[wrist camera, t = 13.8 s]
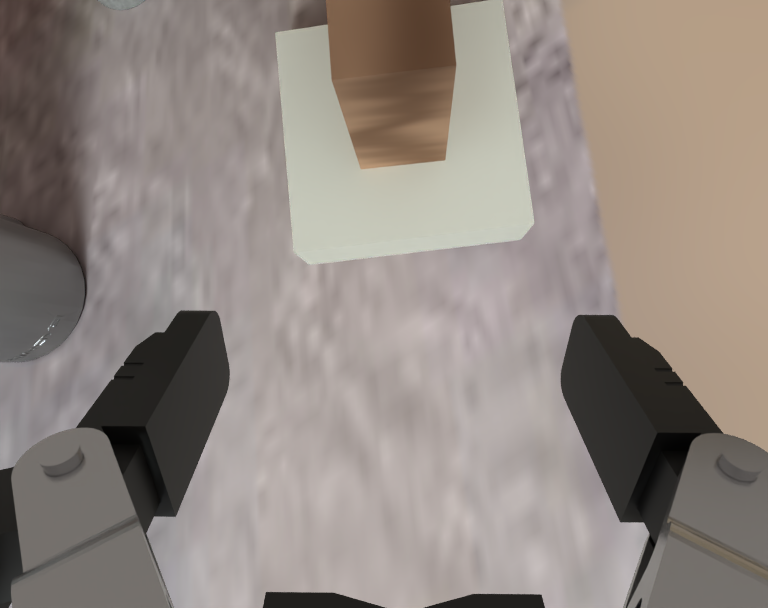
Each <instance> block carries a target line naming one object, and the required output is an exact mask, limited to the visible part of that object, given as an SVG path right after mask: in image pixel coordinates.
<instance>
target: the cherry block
mask: <svg viewBox="0 0 768 608" xmlns="http://www.w3.org/2000/svg"><path fill="white" fill-rule="evenodd" d="M326 9H327V23H328V37H329V51H330V65H331V79H332V83H333V86H334V89H335V92H336V95H337V98H338V101H339V104H340V107H341V110H342V113H343V116H344V120H345V123H346V126H347V129H348V132H349V135H350V138H351V141H352V144H353V147H354V150H355V153H356V156H357V159H358V162H359V165H360V168H361V169H369V168H379V167H388V166H398V165H407V164H416V163H426V162H435V161H444V160H445V159H446V150H447V142H448V133H449V125H450V116H451V108H452V99H453V90H454V82H455V73H456V56H455V46H454V36H453V26H452V17H451V7H450V0H326Z"/></svg>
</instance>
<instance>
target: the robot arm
mask: <svg viewBox="0 0 768 608" xmlns="http://www.w3.org/2000/svg"><path fill="white" fill-rule="evenodd" d="M84 297H85V284H84V277H83V273H82V269H81V266H80V264H79V263H78V261H77V259H76V257H75V255H74V254H73V253H72V251H71V250H70V249H69V248H68V247H67V246H66V245H65V244H64V243H62V242H61V241H60V240H59V239H57V238H55V237H53V236H51V235H48V234H46V233H44V232H41V231H38V230H34V229H31V228H28V227H25V226H23V224H22V223H21V222H20V221H19V220H16V219H13V218H10V217H8V216H5V215H2V214H0V362H25V361H30V360H34V359H38V358H40V357H42V356H44V355H46V354H48V353H50V352H51V351H53V350H54V349H55V348H57V347H58V346H60V345H61V344H62V343H63V341H64V340H65V339H66V338H67V337H68V336H69V335H70V334H71V332H72V330H73V329H74V327H75V325H76V324H77V322H78V320H79V317H80V314H81V312H82V309H83V303H84ZM229 376H230V371H229V363H228V358H227V353H226V348H225V343H224V338H223V333H222V327H221V322H220V318H219V315H218V313H217V312H216V311H180V312H178V313H177V315H176V316H175V318H174V319H173V321H172V322H171V324H170V325H169V327H168V328H167V330H166V331H165V333H161V332H156V333H154V334H153V335H151V336H150V337H148V338H147V339H146V340H144V341H143V342H141V343H140V344H139V345H137V346H136V347H135V348H134V350H133V351H132V352H131V354H130V355H129V356H128V358H127V359H126V360H125V362H124V366H121V367H120V369H119V370H118V371H117V373H116V374H115V375H114V380H111V381H110V382H109V384H108V385H107V386H106V388H105V389H104V390H103V392H102V393H101V395H100V396H99V397H98V399H97V400H96V401H95V403H94V404H93V405H92V407H91V408H90V409H89V411H88V412H87V414H86V415H85V416H84V418H83V419H82V420H81V422H80V423H79V424H78V426H77V427H76V428H74V429H69V430H65V431H62V432H59V433H56V434H54V435H51V436H49V437H47V438H45V439H43V440H42V441H40V442H38V443H37V444H35V445H34V446H32V447H31V448H30V449H29V450H28V451H26V452H25V453H24V454H23V455H22V456H21V458H20V459H19V460H18V462H17V463H16V465H15V467H12V468H8V469H3V470H0V608H9V606H10V604H11V602H12V608H174V606H173V604H172V601H171V598H170V596H169V593H168V590H167V588H166V585H165V582H164V579H163V577H162V574H161V571H160V569H159V566H158V563H157V561H156V558H155V555H154V553H153V550H152V547H151V544H150V542H149V539H148V537H147V534H146V532H147V530H148V528H149V526H150V524H151V522H152V519H153V517H154V516H166V517H176V515H177V512H178V510H179V508H180V505H181V503H182V500H183V498H184V495H185V493H186V491H187V488H188V486H189V483H190V481H191V478H192V476H193V474H194V471H195V469H196V466H197V464H198V461H199V459H200V457H201V454H202V452H203V449H204V447H205V444H206V442H207V440H208V437H209V435H210V432H211V430H212V427H213V425H214V423H215V420H216V418H217V415H218V413H219V410H220V408H221V406H222V403H223V401H224V398H225V396H226V393H227V390H228V386H229ZM561 388H562V393H563V396H564V399H565V401H566V403H567V405H568V408H569V410H570V412H571V414H572V416H573V419H574V421H575V423H576V425H577V427H578V430H579V432H580V434H581V436H582V438H583V441H584V443H585V445H586V447H587V450H588V452H589V454H590V456H591V458H592V461H593V463H594V465H595V467H596V469H597V472H598V474H599V476H600V478H601V480H602V483H603V485H604V487H605V489H606V492H607V494H608V496H609V498H610V500H611V503H612V505H613V507H614V509H615V511H616V514H617V516H618V518H619V520H620V522H644V523H645V525H646V527H647V529H648V531H649V535H648V537H647V539H646V541H645V544H644V547H643V550H642V553H641V555H640V558H639V561H638V564H637V567H636V570H635V573H634V576H633V579H632V582H631V585H630V588H629V591H628V594H627V597H626V600H625V603H624V606H623V608H768V453H767V452H766V451H764V450H763V449H761V448H760V447H758V446H756V445H754V444H753V443H750V442H748V441H746V440H744V439H741V438H738V437H735V436H731V435H727V434H723V432H722V431H721V430H720V429H719V428H718V426H717V425H716V424H715V422H714V421H713V420H712V418H711V417H710V416H709V415H708V413H707V412H706V411H705V410H704V409H703V407H702V406H701V404H700V403H699V402H698V401H697V399H696V398H695V397H694V396H693V394H692V393H691V392H690V390H689V389H688V388H687V387H686V386H683V382H682V380H681V379H680V378H679V376H678V375H677V374H676V373H675V372H672V368H671V366H670V365H669V364H668V362H667V361H666V360H665V359H664V358H663V356H662V355H661V354H660V352H659V351H657V350H656V349H654V348H653V347H651V346H650V345H649V344H647V343H646V342H644V341H643V340H641V339H640V338H631V337H630V335H629V333H628V332H627V331H626V329H625V328H624V327H623V325H622V324H621V323H620V321H619V320H618V319H617V318H616V317H615V316H614V315H578V316H577V317H576V318H575V320H574V322H573V325H572V329H571V333H570V337H569V341H568V345H567V349H566V353H565V357H564V361H563V365H562V370H561ZM263 608H385V607H381V606H378V605H374V604H371V603H367V602H364V601H360V600H357V599H353V598H350V597H347V596H343V595H340V594H336V593H300V592H266V595H265V600H264V605H263ZM425 608H545V606H544V603H543V599H542V595H534V594H472V595H468V596H465V597H461V598H457V599H454V600H450V601H447V602H443V603H439V604H436V605H432V606H429V607H425Z"/></svg>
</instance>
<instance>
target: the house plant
mask: <svg viewBox="0 0 768 608" xmlns="http://www.w3.org/2000/svg"><path fill="white" fill-rule="evenodd" d="M98 1H99V2H100V3H101V4H103V5H104V6H106V7H109V8H111V9H116V10H125V9H130V8H133V7H136V6H138V5H139V4H141V3H142V2H144V1H145V0H98Z"/></svg>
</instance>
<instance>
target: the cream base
mask: <svg viewBox="0 0 768 608" xmlns="http://www.w3.org/2000/svg"><path fill="white" fill-rule="evenodd" d="M450 7H451V17H452V26H453V36H454V46H455V56H456V73H455V82H454V90H453V99H452V108H451V116H450V125H449V133H448V142H447V150H446V159H445V160H444V161H435V162H426V163H416V164H407V165H398V166H388V167H379V168H369V169H361V168H360V165H359V162H358V159H357V156H356V153H355V150H354V147H353V144H352V141H351V138H350V135H349V132H348V129H347V126H346V123H345V120H344V116H343V113H342V110H341V107H340V104H339V101H338V98H337V95H336V92H335V89H334V86H333V83H332V79H331V65H330V51H329V37H328V25H321V26H314V27H308V28H301V29H295V30H288V31H281V32H275V36H276V47H277V59H278V71H279V83H280V95H281V107H282V119H283V130H284V142H285V154H286V166H287V178H288V190H289V202H290V213H291V225H292V237H293V249H294V253H295V254H296V255H298V256H299V257H300V258H301V259H303V260H304V261H305V262H306V263H307V264H309V265H313V264H322V263H330V262H339V261H347V260H356V259H364V258H372V257H381V256H389V255H398V254H406V253H415V252H423V251H431V250H440V249H448V248H457V247H465V246H474V245H482V244H490V243H499V242H507V241H516V240H521V239H522V238H523V236H524V235H525V234H526V233H527V232H528V230H529V229H530V228H531V227H532V226H533V224H534V217H533V210H532V203H531V196H530V189H529V182H528V175H527V168H526V161H525V154H524V147H523V140H522V133H521V126H520V119H519V112H518V105H517V98H516V91H515V84H514V77H513V70H512V63H511V56H510V49H509V42H508V35H507V28H506V21H505V14H504V7H503V0H487V1H480V2H474V3H467V4H460V5H454V6H450Z"/></svg>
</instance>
